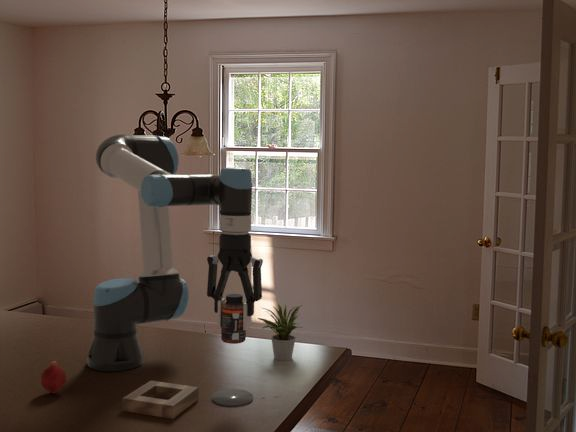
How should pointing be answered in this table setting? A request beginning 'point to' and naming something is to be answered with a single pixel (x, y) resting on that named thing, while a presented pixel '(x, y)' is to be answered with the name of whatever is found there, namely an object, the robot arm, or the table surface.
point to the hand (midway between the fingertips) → (233, 327)
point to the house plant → (282, 333)
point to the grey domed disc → (232, 397)
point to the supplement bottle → (233, 320)
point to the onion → (53, 378)
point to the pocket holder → (149, 405)
